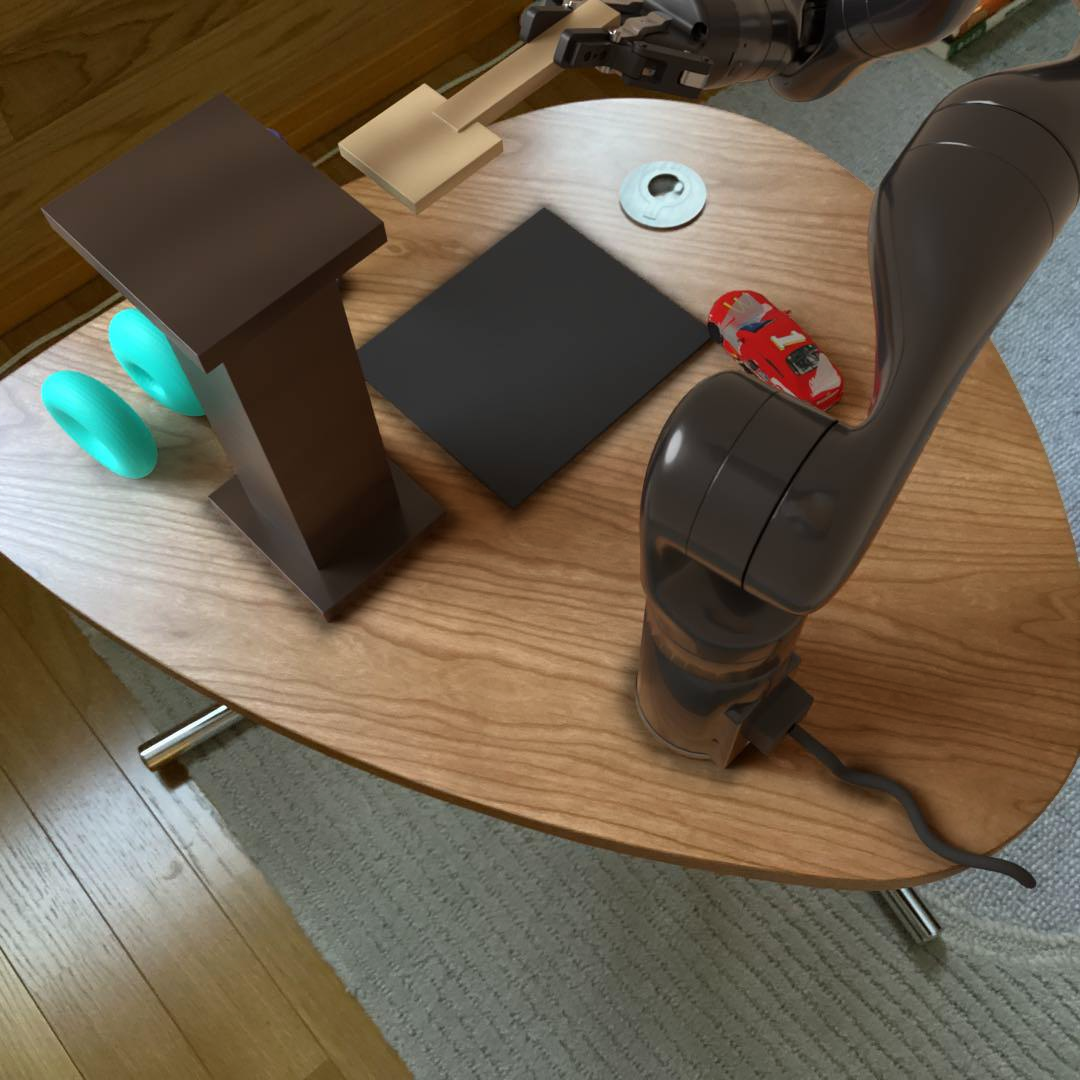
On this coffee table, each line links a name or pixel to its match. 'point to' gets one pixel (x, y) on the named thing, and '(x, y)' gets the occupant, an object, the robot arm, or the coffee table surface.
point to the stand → (260, 337)
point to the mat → (530, 355)
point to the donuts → (104, 414)
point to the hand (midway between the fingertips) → (544, 37)
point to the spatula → (457, 120)
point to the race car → (774, 348)
